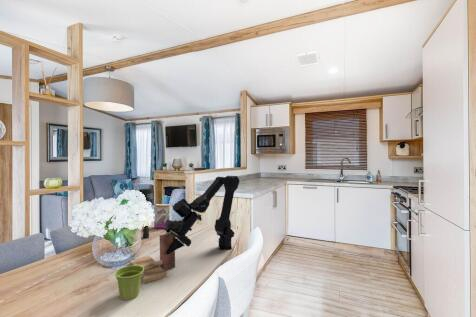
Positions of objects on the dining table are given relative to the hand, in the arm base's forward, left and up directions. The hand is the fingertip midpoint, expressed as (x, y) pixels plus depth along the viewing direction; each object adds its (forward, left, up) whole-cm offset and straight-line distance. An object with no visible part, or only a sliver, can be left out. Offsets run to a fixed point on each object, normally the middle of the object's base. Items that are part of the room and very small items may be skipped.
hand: (164, 251), depth 105 cm
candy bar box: (+14, -64, -7) cm, 66 cm away
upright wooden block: (+3, +2, -7) cm, 8 cm away
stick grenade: (+20, -43, -7) cm, 48 cm away
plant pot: (+8, +21, -7) cm, 23 cm away
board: (+7, +1, -7) cm, 10 cm away
